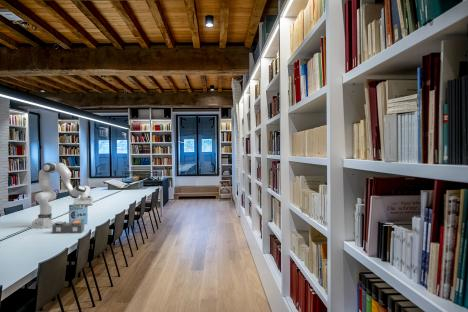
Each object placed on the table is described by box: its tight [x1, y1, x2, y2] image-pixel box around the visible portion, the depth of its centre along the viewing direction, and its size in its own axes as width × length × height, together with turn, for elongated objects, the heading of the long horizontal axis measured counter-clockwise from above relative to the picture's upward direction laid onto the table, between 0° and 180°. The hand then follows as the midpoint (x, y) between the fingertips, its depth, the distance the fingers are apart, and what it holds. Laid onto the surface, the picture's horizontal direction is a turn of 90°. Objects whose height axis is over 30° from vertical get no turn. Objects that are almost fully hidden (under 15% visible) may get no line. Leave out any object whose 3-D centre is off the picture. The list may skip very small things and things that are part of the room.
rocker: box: [73, 220, 81, 225], centre depth 354 cm, size 7×6×2 cm
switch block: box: [51, 221, 85, 234], centre depth 353 cm, size 28×10×10 cm, turn 98°
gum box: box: [68, 204, 89, 225], centre depth 394 cm, size 20×5×23 cm, turn 123°
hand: (81, 208), depth 369 cm, fingers closed
